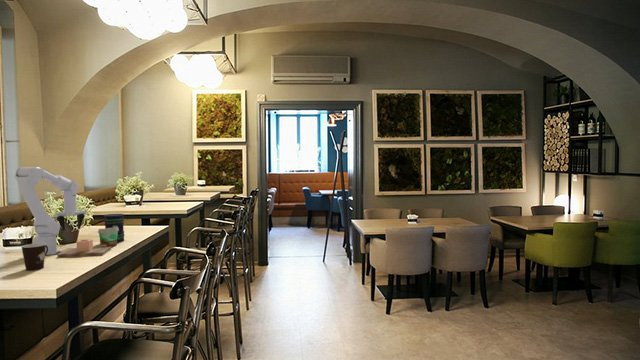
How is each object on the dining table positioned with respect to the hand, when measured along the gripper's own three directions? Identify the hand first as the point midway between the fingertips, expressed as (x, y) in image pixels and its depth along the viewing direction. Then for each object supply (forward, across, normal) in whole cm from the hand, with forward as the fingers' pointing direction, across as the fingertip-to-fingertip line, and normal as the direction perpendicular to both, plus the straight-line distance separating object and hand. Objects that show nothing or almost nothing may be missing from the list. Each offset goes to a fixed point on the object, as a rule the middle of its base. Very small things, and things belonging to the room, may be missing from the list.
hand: (71, 229), depth 233 cm
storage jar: (+10, +22, -1) cm, 24 cm away
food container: (+10, +15, -14) cm, 22 cm away
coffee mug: (+10, -25, -37) cm, 46 cm away
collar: (+8, -1, -22) cm, 23 cm away
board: (+9, -1, -22) cm, 24 cm away
